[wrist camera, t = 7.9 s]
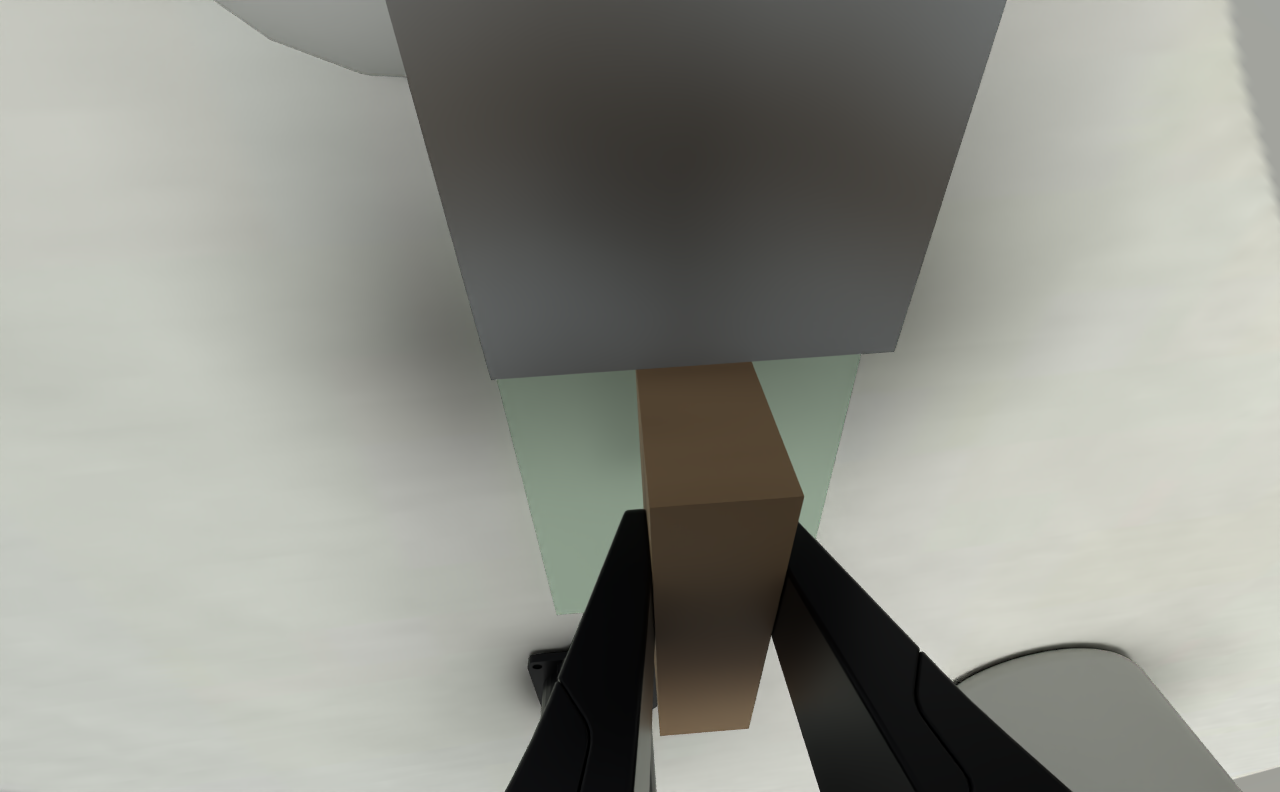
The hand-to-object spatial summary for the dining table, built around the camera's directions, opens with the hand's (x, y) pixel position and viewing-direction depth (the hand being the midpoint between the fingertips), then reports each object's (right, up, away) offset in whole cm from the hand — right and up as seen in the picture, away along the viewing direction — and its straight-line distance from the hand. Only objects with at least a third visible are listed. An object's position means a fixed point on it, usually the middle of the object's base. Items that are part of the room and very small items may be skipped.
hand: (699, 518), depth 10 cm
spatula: (0, +3, +1) cm, 3 cm away
